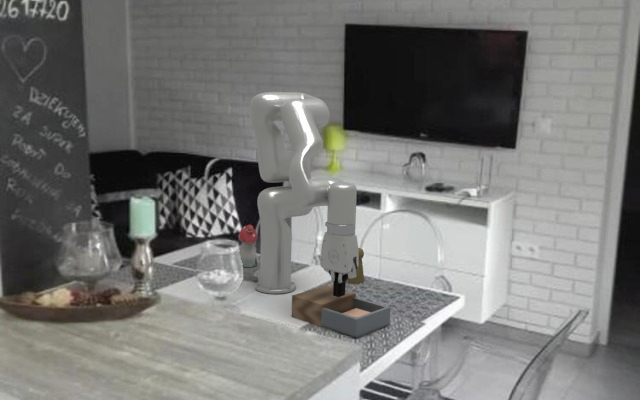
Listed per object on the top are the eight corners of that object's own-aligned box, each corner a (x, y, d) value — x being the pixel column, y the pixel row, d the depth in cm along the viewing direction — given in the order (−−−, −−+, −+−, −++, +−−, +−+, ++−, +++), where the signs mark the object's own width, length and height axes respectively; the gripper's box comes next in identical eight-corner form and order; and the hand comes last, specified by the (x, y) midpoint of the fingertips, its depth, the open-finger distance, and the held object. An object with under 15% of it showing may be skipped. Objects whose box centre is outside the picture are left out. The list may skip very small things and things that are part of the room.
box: (321, 326, 189) (321, 308, 188) (355, 314, 199) (355, 297, 198) (356, 338, 181) (356, 319, 180) (389, 325, 191) (390, 307, 190)
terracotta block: (360, 318, 185) (359, 329, 186) (373, 313, 190) (373, 324, 190) (342, 313, 189) (341, 324, 189) (356, 308, 193) (355, 318, 194)
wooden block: (291, 316, 196) (292, 295, 195) (325, 305, 206) (326, 285, 205) (321, 326, 189) (321, 304, 188) (355, 314, 199) (355, 293, 198)
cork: (362, 284, 227) (364, 251, 226) (344, 283, 229) (345, 249, 227) (365, 279, 233) (366, 246, 231) (347, 278, 234) (348, 245, 233)
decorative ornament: (255, 269, 243) (255, 225, 240) (236, 268, 243) (236, 225, 240) (258, 262, 252) (259, 220, 249) (240, 261, 252) (240, 219, 250)
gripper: (310, 226, 192) (309, 292, 195) (353, 236, 182) (351, 305, 185) (329, 222, 197) (327, 286, 200) (372, 231, 187) (369, 299, 190)
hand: (339, 295), depth 193 cm, fingers closed
